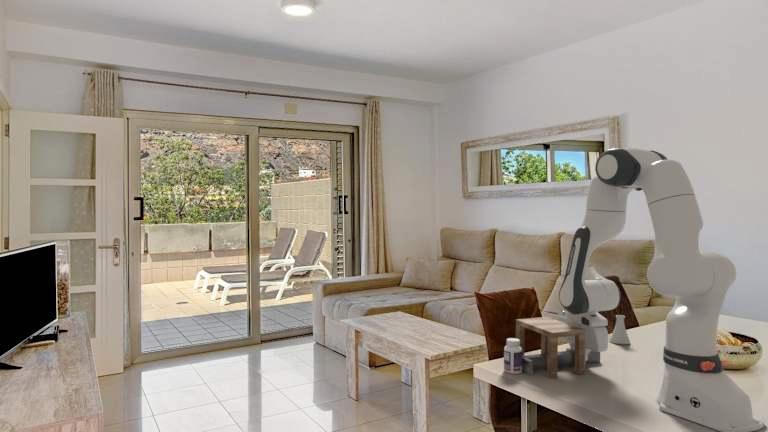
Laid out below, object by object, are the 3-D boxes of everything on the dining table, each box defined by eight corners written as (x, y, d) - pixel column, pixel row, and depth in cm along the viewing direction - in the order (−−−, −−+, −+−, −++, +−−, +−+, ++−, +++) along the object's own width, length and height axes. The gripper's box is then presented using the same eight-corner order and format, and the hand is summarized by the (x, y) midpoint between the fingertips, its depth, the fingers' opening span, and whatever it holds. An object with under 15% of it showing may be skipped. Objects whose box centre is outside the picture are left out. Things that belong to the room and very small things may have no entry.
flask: (626, 340, 188) (626, 314, 188) (634, 345, 181) (634, 318, 181) (606, 339, 189) (606, 313, 189) (613, 344, 182) (613, 317, 182)
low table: (584, 374, 149) (585, 329, 149) (551, 378, 145) (552, 332, 145) (545, 357, 166) (546, 316, 166) (515, 360, 162) (515, 319, 162)
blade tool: (606, 364, 159) (606, 352, 159) (528, 374, 149) (528, 361, 149) (588, 357, 166) (588, 345, 166) (513, 366, 156) (513, 353, 156)
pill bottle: (522, 369, 153) (522, 338, 153) (521, 375, 148) (522, 342, 148) (504, 367, 155) (504, 336, 155) (503, 373, 150) (503, 341, 150)
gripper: (551, 309, 168) (550, 350, 169) (595, 323, 149) (594, 368, 149) (566, 308, 171) (565, 348, 171) (612, 321, 151) (611, 366, 152)
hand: (579, 358), depth 160 cm, fingers closed on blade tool, 2 cm apart
